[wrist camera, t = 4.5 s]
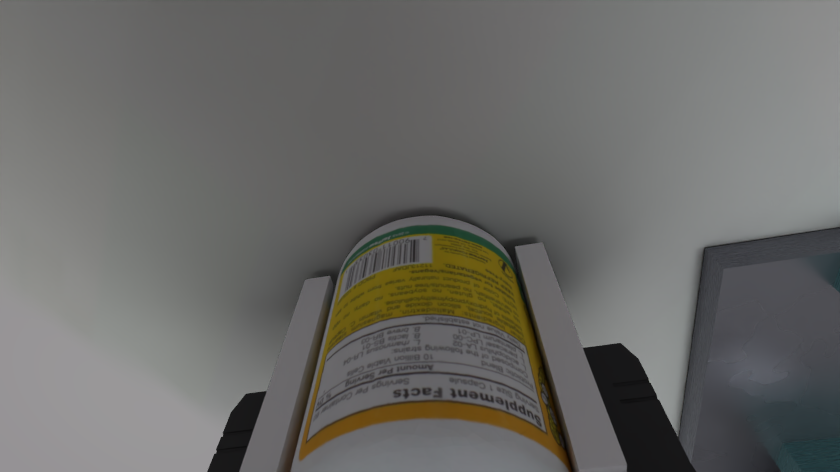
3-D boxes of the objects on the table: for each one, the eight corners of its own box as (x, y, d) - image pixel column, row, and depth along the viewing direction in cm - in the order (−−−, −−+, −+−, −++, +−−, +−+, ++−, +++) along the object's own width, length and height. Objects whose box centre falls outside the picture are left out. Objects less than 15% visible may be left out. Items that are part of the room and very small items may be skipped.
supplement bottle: (372, 182, 13) (279, 643, 4) (553, 246, 14) (744, 715, 5) (317, 325, 15) (197, 775, 7) (471, 369, 16) (519, 807, 8)
